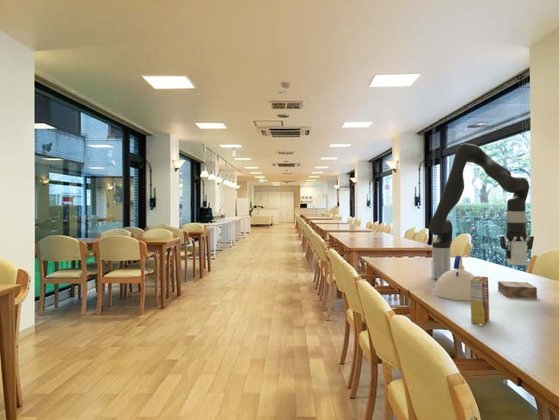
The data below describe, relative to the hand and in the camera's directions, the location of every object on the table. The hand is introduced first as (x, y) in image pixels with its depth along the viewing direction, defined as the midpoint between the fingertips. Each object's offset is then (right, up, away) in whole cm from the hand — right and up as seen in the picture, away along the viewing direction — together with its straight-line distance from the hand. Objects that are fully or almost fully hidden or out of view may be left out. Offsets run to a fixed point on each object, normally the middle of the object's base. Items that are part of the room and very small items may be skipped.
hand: (516, 258), depth 173 cm
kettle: (-26, -17, 0) cm, 31 cm away
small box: (0, -3, 0) cm, 3 cm away
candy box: (-37, -17, -39) cm, 56 cm away
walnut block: (0, -17, 0) cm, 17 cm away
